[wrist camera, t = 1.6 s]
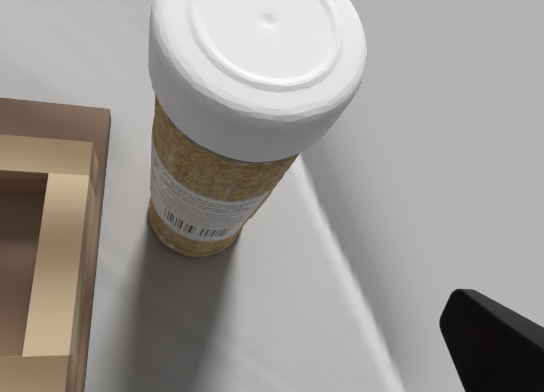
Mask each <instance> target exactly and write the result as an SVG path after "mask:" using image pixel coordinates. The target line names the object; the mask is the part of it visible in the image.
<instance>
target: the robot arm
mask: <svg viewBox="0 0 544 392" xmlns="http://www.w3.org/2000/svg"><path fill="white" fill-rule="evenodd" d="M439 322H440V324H439V325H440V329H441V333H442V335H443V338H444V340H445V343H446V345H447V347H448V350H449V352H450V355H451V358H452V360H453V363H454V365H455V367H456V370H457V372H458V375H459V377H460V380H461V382H462V385H463V387H464V390H465V392H544V328H543V327H541V326H540V325H538V324H536V323H534V322H532V321H531V320H529V319H527V318H525V317H523V316H521V315H520V314H518V313H516V312H514V311H512V310H510V309H509V308H507V307H505V306H503V305H501V304H499V303H498V302H496V301H494V300H492V299H490V298H488V297H486V296H485V295H483V294H481V293H479V292H477V291H475V290H471V289H456V290H454V291H453V292H452V293H451V295H450V297H449V299H448V301H447V304H446V306H445V308H444V310H443V312H442V315H441V317H440V321H439Z"/></svg>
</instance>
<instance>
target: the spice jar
mask: <svg viewBox="0 0 544 392" xmlns="http://www.w3.org/2000/svg"><path fill="white" fill-rule="evenodd" d="M366 59H367V46H366V39H365V34H364V30H363V27H362V24H361V21H360V19H359V17H358V14H357V12H356V10H355V9H354V7H353V5H352V3H351V2H350V0H153V2H152V7H151V14H150V30H149V74H150V78H151V82H152V86H153V90H154V92H155V96H156V97H155V116H154V120H153V127H152V148H151V182H150V190H151V197H150V201H149V210H148V212H149V217H150V223H151V226H152V228H153V231H154V232H155V234H156V235H157V237H158V238H159V240H160V241H161V242H162V243H163V244H164V245H165V246H167V247H169V248H170V249H171V250H173V251H175V252H177V253H180V254H182V255H184V256H189V257H206V256H210V255H213V254H217V253H219V252H221V251H222V250H224V249H226V248H227V247H228V246H230V245H231V244H232V243H233V242H234V241H235V240H236V238H237V236H238V235H239V233H240V232H241V230H242V227H243V225H244V224H245V223H246V222H247V221H248V219H250V218H251V217H252V216H253V215H254V214H255V213H256V212H257V210H258V209H259V208H260V207H261V206H262V204H263V203H264V202H265V201H266V199H267V198H268V197H269V196H270V194H271V192H272V190H273V189H274V188H275V186H276V185H277V183H278V182H279V181H280V180H281V179H282V177H283V175H284V174H285V172H286V171H287V170H288V169H289V168H290V166H291V165H292V163H293V162H294V161H295V159H296V158H297V156H298V155H299V153H301V152H303V151H305V150H307V149H308V148H310V147H311V146H313V145H314V144H315V143H316V142H317V141H319V139H320V138H322V137H323V136H324V135H325V134H326V132H327V131H328V130H329V129H330V127H331V126H332V125H333V124H334V123H335V121H336V120H337V119H338V117H339V116H340V115H341V113H342V112H343V111H344V109H345V108H346V107H347V106H348V104H349V103H350V102H351V100H352V98H353V97H354V95H355V94H356V92H357V90H358V88H359V86H360V84H361V82H362V79H363V75H364V72H365V66H366Z"/></svg>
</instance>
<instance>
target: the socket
mask: <svg viewBox="0 0 544 392" xmlns="http://www.w3.org/2000/svg"><path fill="white" fill-rule="evenodd" d="M110 126H111V115H110V109H104V108H94V107H85V106H75V105H66V104H56V103H46V102H37V101H27V100H18V99H8V98H0V392H84V388H85V378H86V368H87V358H88V348H89V338H90V327H91V317H92V307H93V297H94V287H95V277H96V267H97V257H98V247H99V237H100V227H101V217H102V207H103V197H104V187H105V176H106V166H107V156H108V146H109V136H110Z"/></svg>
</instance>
